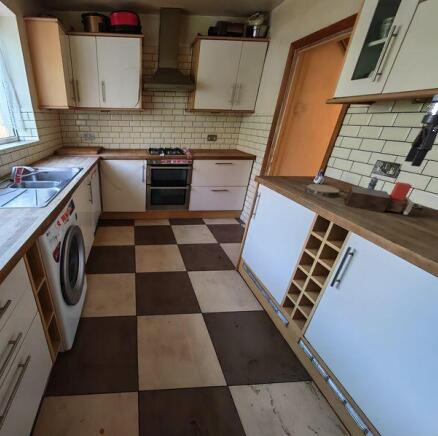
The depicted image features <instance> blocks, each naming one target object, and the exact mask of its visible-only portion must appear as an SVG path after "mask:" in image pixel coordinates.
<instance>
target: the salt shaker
mask: <svg viewBox="0 0 438 436" xmlns="http://www.w3.org/2000/svg"><path fill="white" fill-rule="evenodd" d="M378 182H379V178H377V176H374V177H372V178H371V179H370V181H369V183H368V185H367V187H366V188H367V189H374V190H375V188H376V186H377V183H378Z"/></svg>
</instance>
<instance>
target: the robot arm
mask: <svg viewBox="0 0 438 436" xmlns="http://www.w3.org/2000/svg"><path fill="white" fill-rule="evenodd" d="M426 109H427V110H426V112H425V114H424V115H423V117H422V118H421V121H420V124H422V126H421V129H420V131H419V132H418V134H417V135H416V137H415V138H414V140H413V142H412V143H411V144H410V145H411V148H410V150H409V151H408V153H407V155H406V157H405V159H404V162H406V163H411V164H410V167H417V168H419V167H421V165H422V164H423V162H424V160H425V158H426V156H427V155H428V152H430V151H432V149H433V146H434V145H435V144H434V143H435V142H436V139H437V137H438V94H436V95H435V94H434V95H433V98H432V99H431V101H430V104H429V105H426Z"/></svg>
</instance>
